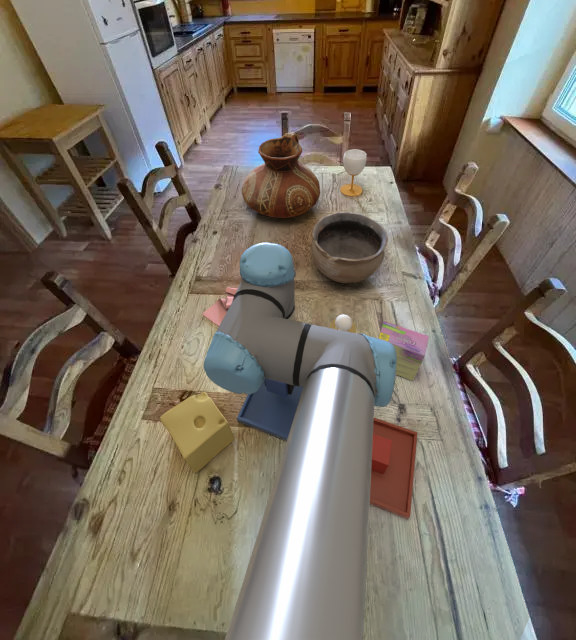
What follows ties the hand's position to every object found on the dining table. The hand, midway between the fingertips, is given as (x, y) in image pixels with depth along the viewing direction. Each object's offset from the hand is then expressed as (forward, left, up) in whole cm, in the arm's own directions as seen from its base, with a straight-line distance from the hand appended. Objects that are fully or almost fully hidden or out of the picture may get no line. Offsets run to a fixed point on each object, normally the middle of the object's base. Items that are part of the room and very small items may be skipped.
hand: (280, 384), depth 73 cm
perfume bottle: (+13, -10, -8) cm, 18 cm away
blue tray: (0, 0, -8) cm, 8 cm away
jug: (+73, +28, -8) cm, 79 cm away
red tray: (-5, -22, -8) cm, 24 cm away
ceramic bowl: (+46, -4, -8) cm, 47 cm away
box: (+18, -23, -8) cm, 30 cm away
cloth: (+20, +20, -8) cm, 29 cm away
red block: (-5, -22, -8) cm, 24 cm away
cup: (+91, +4, -8) cm, 91 cm away
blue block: (0, 0, 0) cm, 0 cm away
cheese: (-13, +13, -8) cm, 20 cm away
